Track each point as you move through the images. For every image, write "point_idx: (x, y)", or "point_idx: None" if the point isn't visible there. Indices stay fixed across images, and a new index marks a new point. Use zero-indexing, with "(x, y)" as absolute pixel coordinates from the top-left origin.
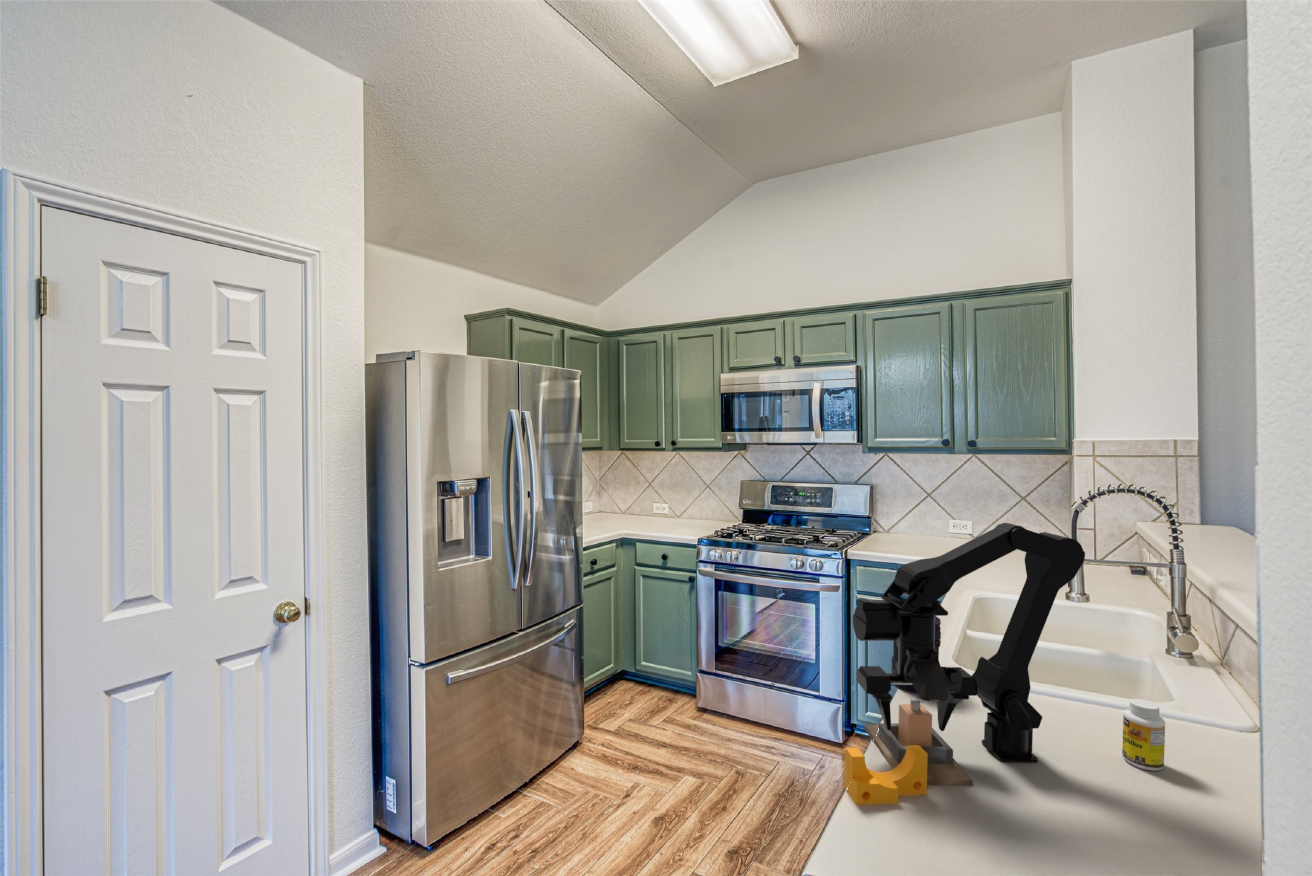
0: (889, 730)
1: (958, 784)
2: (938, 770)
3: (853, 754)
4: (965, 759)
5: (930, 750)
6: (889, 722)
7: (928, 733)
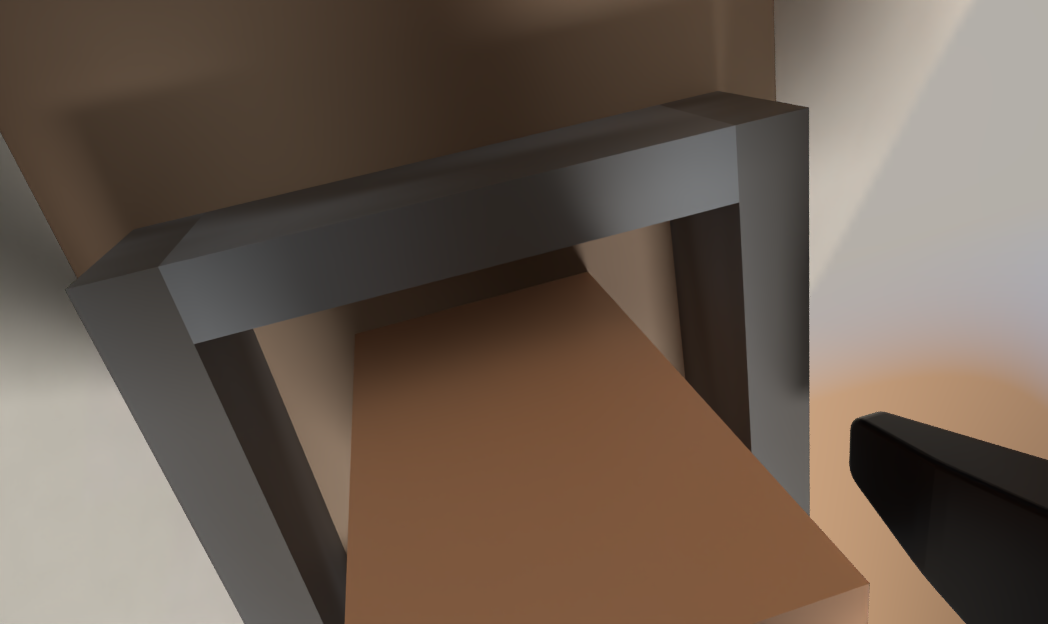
0: (856, 419)
1: None
2: (318, 39)
3: None
4: (4, 444)
5: (398, 207)
6: (962, 461)
7: (399, 466)
